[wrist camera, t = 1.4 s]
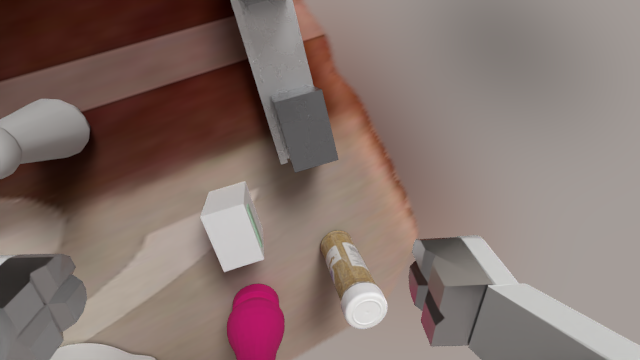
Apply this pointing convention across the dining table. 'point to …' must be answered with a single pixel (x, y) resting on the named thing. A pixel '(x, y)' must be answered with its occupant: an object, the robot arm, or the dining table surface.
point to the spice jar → (353, 281)
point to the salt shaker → (41, 134)
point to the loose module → (233, 226)
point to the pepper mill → (255, 323)
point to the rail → (285, 82)
